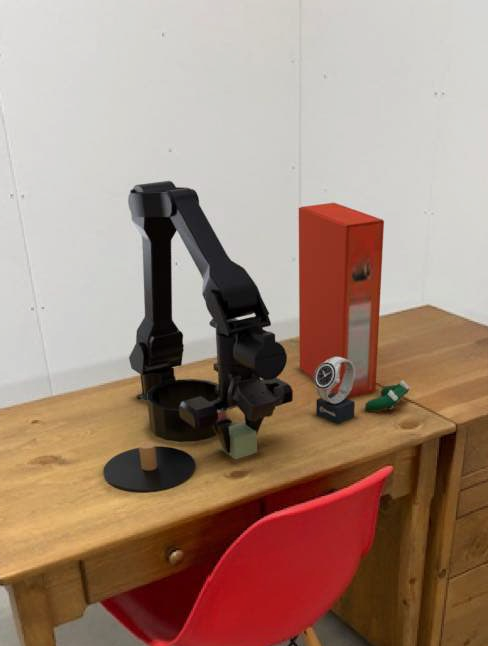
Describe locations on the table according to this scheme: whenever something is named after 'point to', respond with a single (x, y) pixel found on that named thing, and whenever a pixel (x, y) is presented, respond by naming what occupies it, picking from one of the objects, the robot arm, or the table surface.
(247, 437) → the block
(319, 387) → the watch
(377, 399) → the green toy shoe
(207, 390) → the pot
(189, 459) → the lid
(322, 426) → the table surface
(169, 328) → the robot arm
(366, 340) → the file binder
